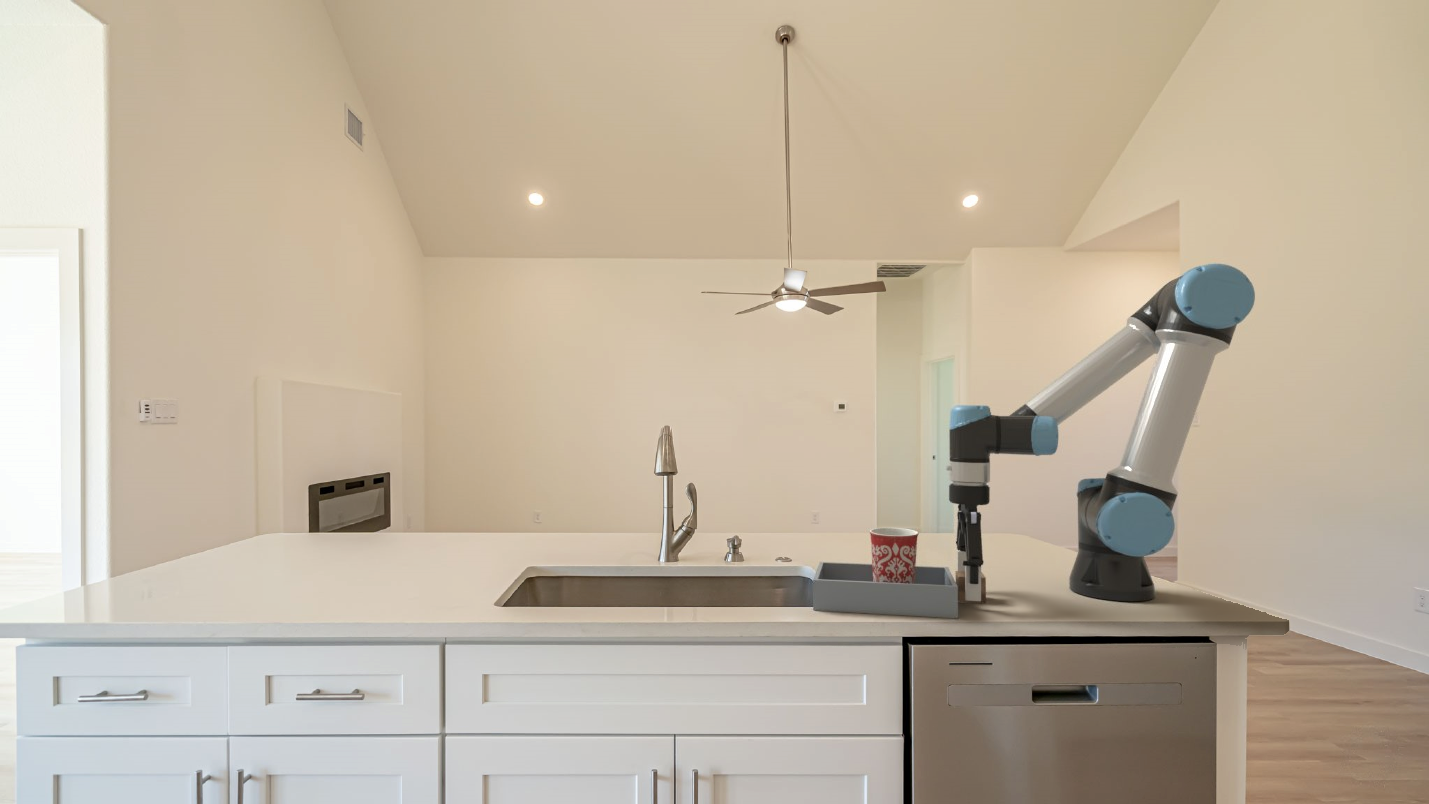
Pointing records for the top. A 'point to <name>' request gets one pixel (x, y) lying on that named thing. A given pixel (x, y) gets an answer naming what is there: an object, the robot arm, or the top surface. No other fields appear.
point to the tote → (884, 591)
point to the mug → (893, 555)
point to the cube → (961, 587)
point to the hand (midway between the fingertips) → (968, 591)
